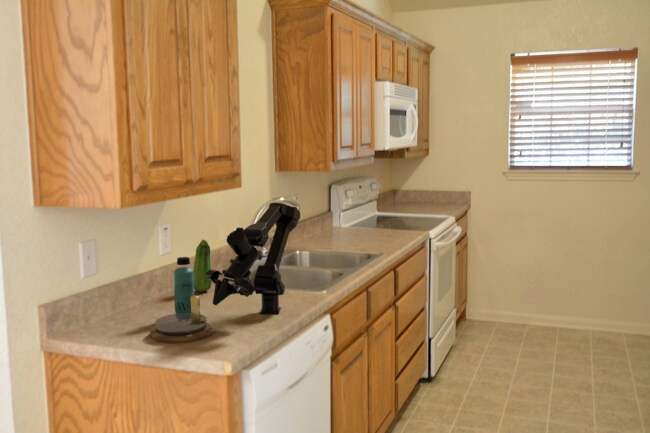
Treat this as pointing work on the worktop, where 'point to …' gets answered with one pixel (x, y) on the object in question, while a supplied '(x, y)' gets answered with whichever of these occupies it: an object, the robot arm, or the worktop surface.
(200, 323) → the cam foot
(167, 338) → the stand base
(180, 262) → the beverage bottle
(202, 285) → the vegetable
